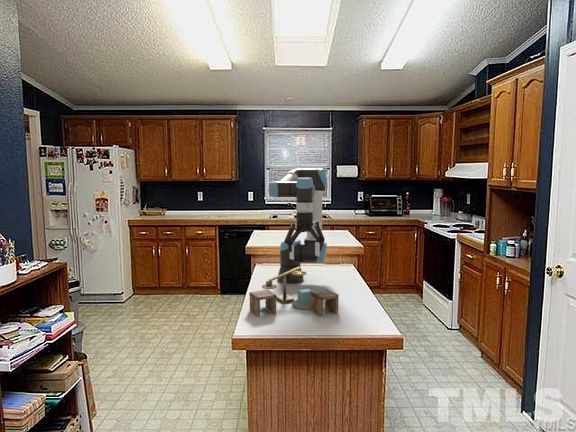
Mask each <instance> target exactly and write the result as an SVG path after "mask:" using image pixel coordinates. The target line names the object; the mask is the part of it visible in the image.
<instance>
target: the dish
mask: <svg viewBox="0 0 576 432" xmlns="http://www.w3.org/2000/svg"><path fill="white" fill-rule="evenodd" d="M291 306H292V308H294V309H298V310H307V311H308V310H310V304H307V305H302V304H300V303H298V298H297V299H294V301H293V302H291Z"/></svg>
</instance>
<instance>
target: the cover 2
mask: <svg viewBox="0 0 576 432" xmlns="http://www.w3.org/2000/svg"><path fill="white" fill-rule="evenodd" d="M324 308H325V309H326V310H328V311H330V312H332V313H333V314H335V315H336V314H337V315H338V314H339V294H338V293H336V292H334V291H332V290H329V289H322V290H316V291H312V292H310V309H309V311H310V312H312V313H313V314H315V315H317V316H318V317H320V318H322V317H324Z"/></svg>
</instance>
